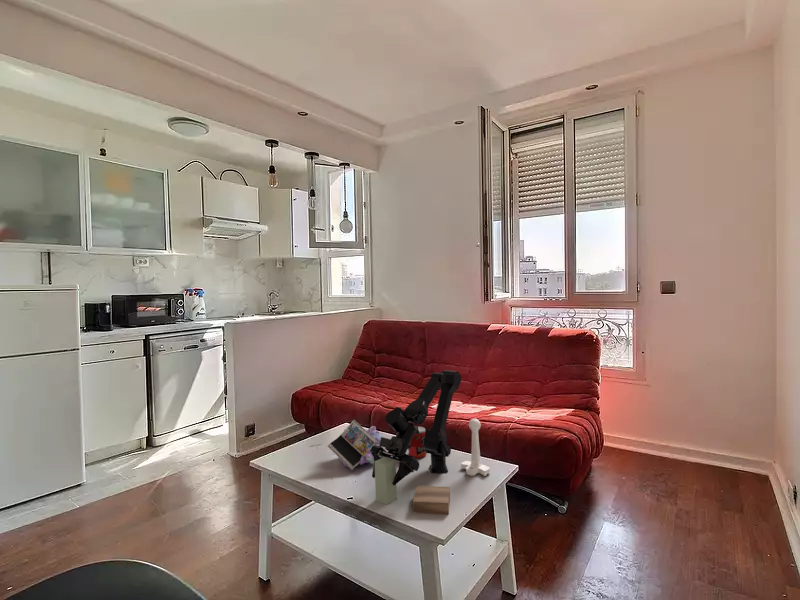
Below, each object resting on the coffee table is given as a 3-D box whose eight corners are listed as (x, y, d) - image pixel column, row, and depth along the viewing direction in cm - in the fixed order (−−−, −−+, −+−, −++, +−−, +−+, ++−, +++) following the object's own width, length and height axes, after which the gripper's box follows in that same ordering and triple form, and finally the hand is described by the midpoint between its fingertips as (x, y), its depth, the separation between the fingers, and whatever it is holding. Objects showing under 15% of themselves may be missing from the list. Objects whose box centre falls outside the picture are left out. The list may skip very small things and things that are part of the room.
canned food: (419, 459, 175) (417, 433, 175) (404, 455, 181) (403, 430, 180) (430, 453, 181) (429, 428, 181) (416, 450, 186) (414, 425, 186)
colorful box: (380, 437, 191) (358, 406, 188) (397, 451, 170) (373, 416, 167) (343, 468, 184) (320, 436, 181) (356, 487, 164) (330, 451, 161)
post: (386, 494, 147) (384, 456, 146) (396, 498, 143) (395, 460, 143) (375, 500, 143) (374, 461, 143) (386, 504, 140) (385, 465, 139)
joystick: (492, 472, 161) (490, 420, 160) (481, 479, 155) (479, 425, 155) (467, 465, 168) (465, 415, 168) (456, 471, 163) (454, 419, 162)
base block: (417, 495, 145) (417, 485, 145) (450, 497, 143) (449, 486, 143) (413, 512, 134) (412, 501, 134) (448, 514, 132) (448, 503, 132)
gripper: (372, 422, 152) (350, 463, 144) (412, 432, 140) (391, 477, 131) (388, 438, 158) (368, 478, 150) (428, 448, 146) (408, 493, 138)
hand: (382, 481), depth 142 cm, fingers open, 9 cm apart
